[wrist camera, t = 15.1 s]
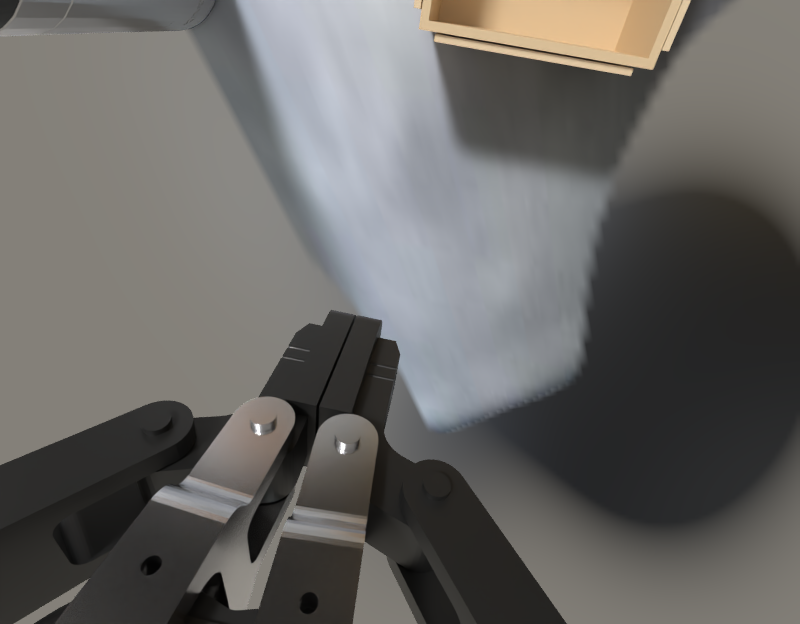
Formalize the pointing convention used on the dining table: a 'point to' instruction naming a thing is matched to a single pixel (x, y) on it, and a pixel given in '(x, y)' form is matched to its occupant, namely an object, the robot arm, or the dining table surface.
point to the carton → (560, 29)
